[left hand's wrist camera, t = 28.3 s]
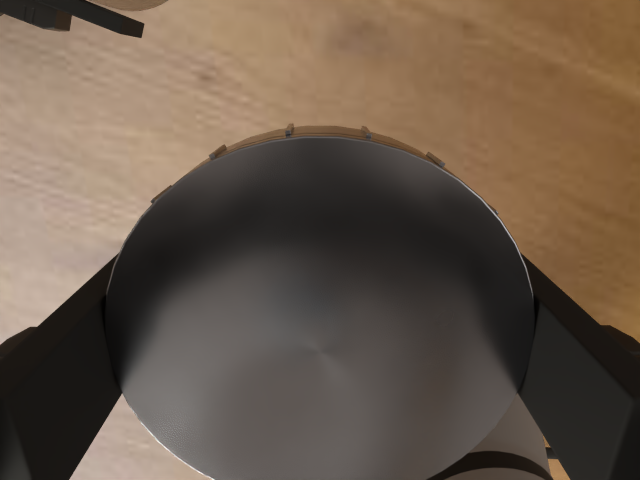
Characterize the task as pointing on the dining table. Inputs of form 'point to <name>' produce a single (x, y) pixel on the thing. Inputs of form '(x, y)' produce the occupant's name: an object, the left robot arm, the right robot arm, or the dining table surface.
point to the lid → (319, 311)
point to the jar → (131, 4)
